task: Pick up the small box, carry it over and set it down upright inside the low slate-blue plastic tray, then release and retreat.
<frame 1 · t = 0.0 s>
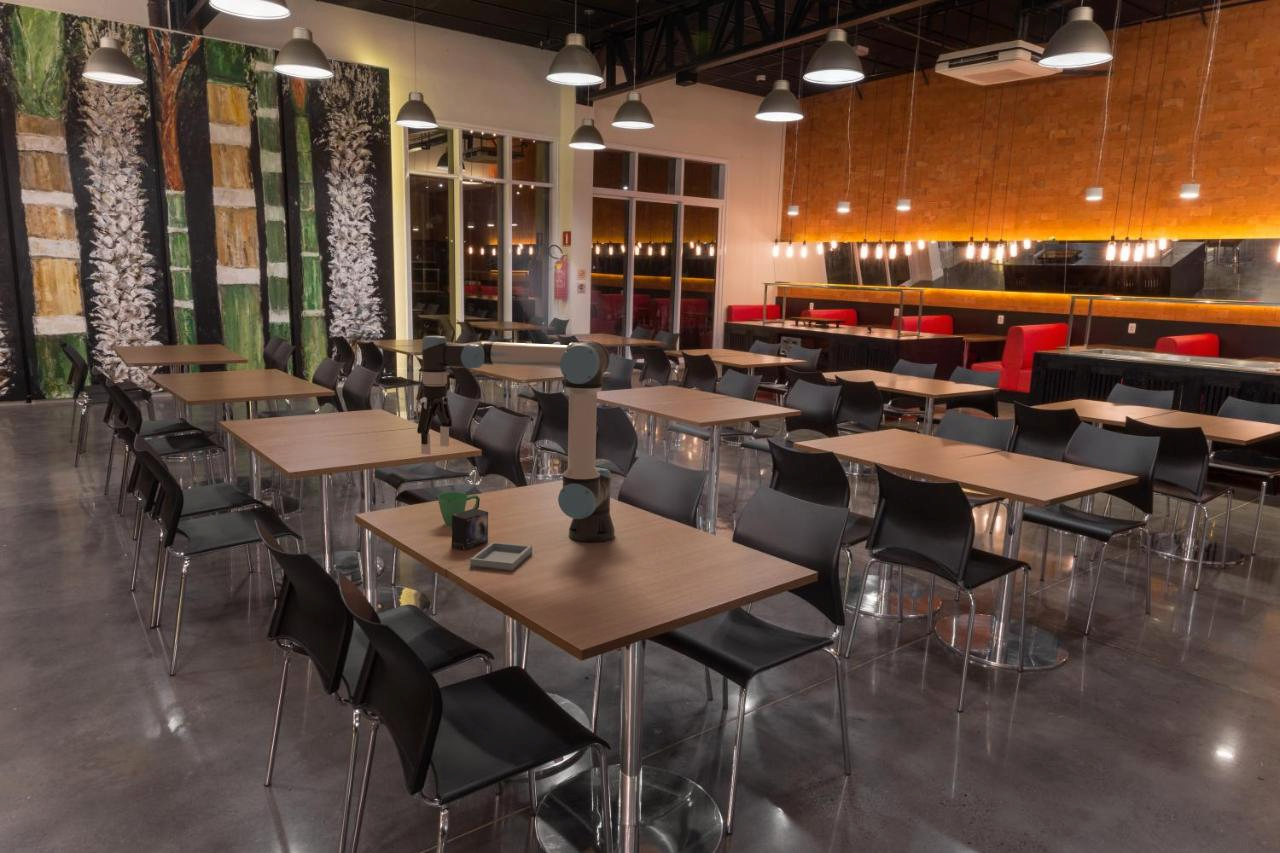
hand: (435, 450, 272), 28 cm above the table, fingers open, 13 cm apart
tray: (502, 560, 253), on the table
mug: (459, 523, 289), on the table
small box: (470, 545, 266), on the table
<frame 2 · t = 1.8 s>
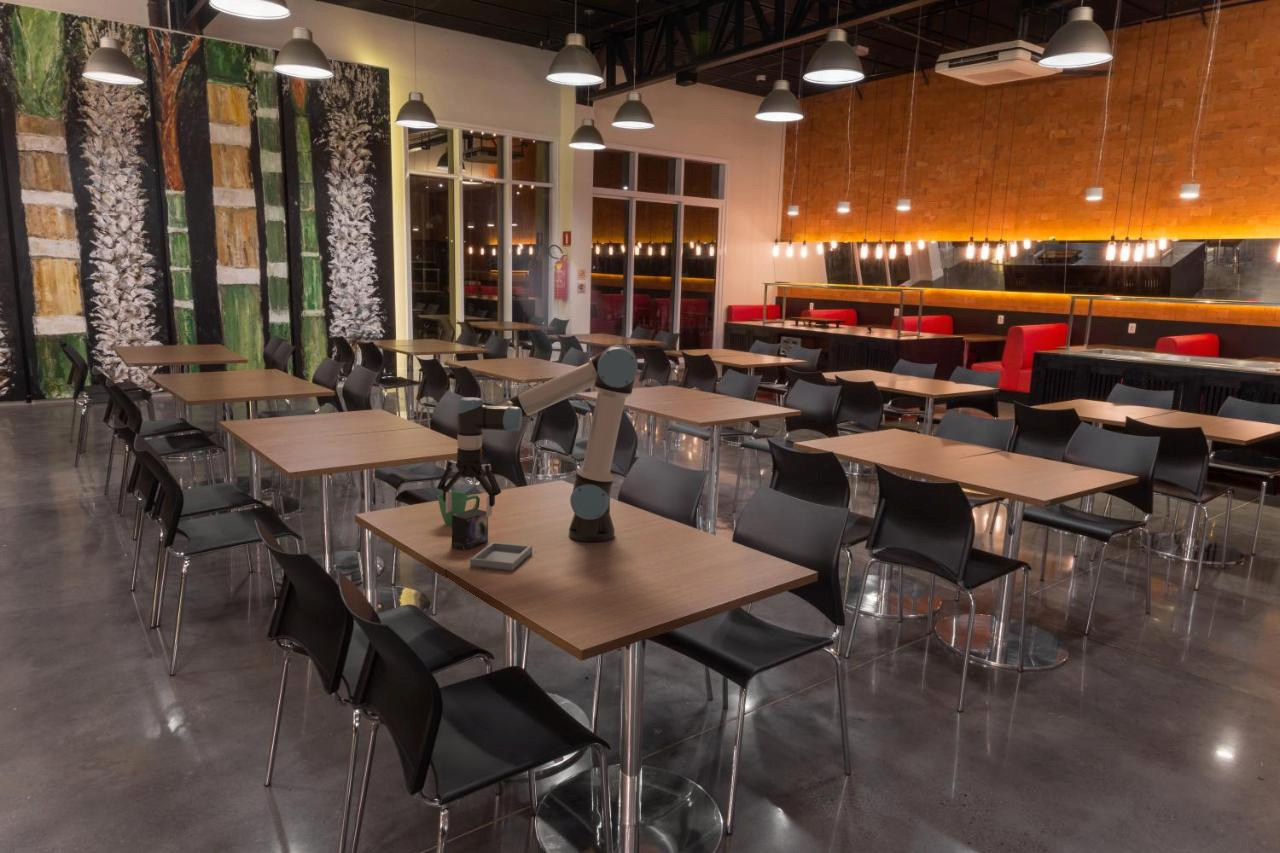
hand: (468, 513, 265), 10 cm above the table, fingers open, 13 cm apart
nothing on the table moved.
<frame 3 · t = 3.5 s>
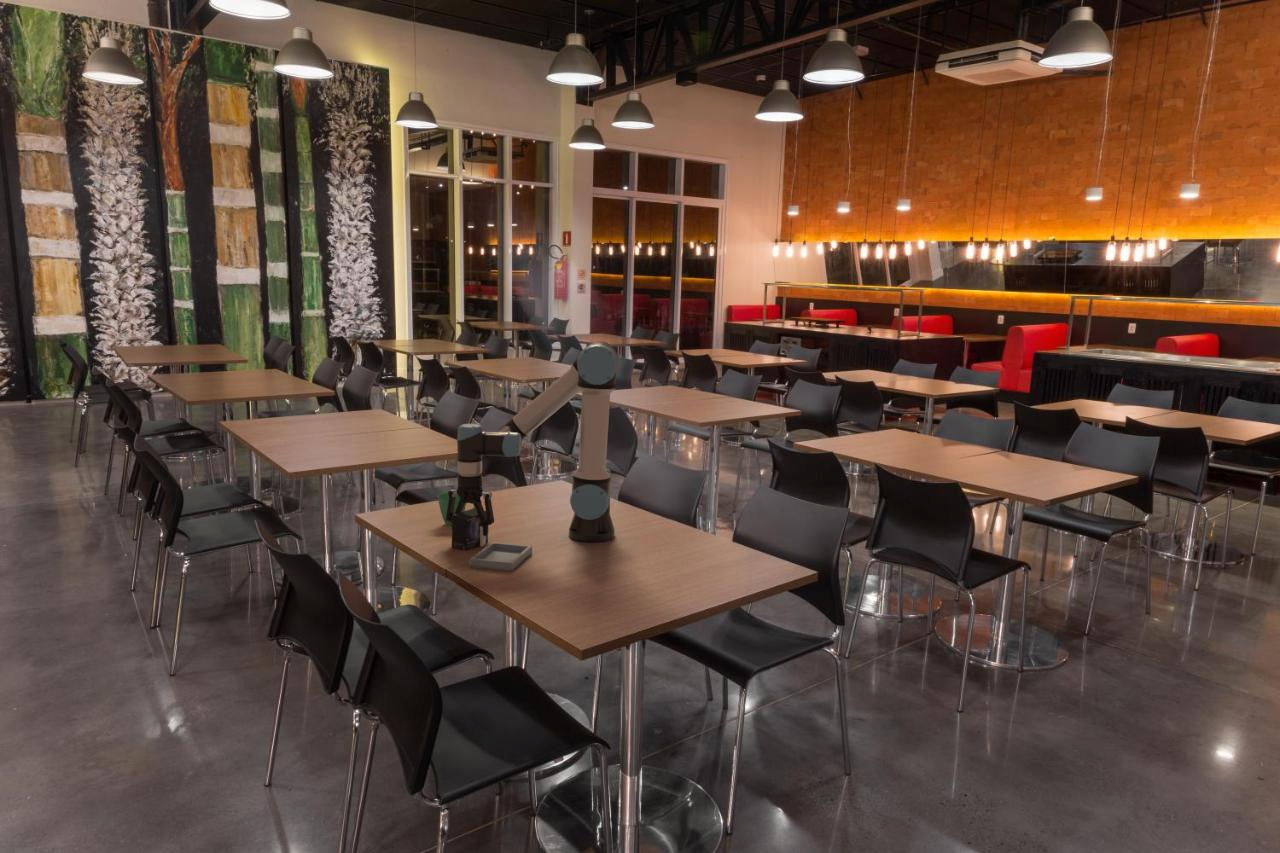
hand: (470, 543, 266), 0 cm above the table, fingers closed on small box, 8 cm apart
small box: (470, 545, 266), on the table, touching gripper
everything else where it was.
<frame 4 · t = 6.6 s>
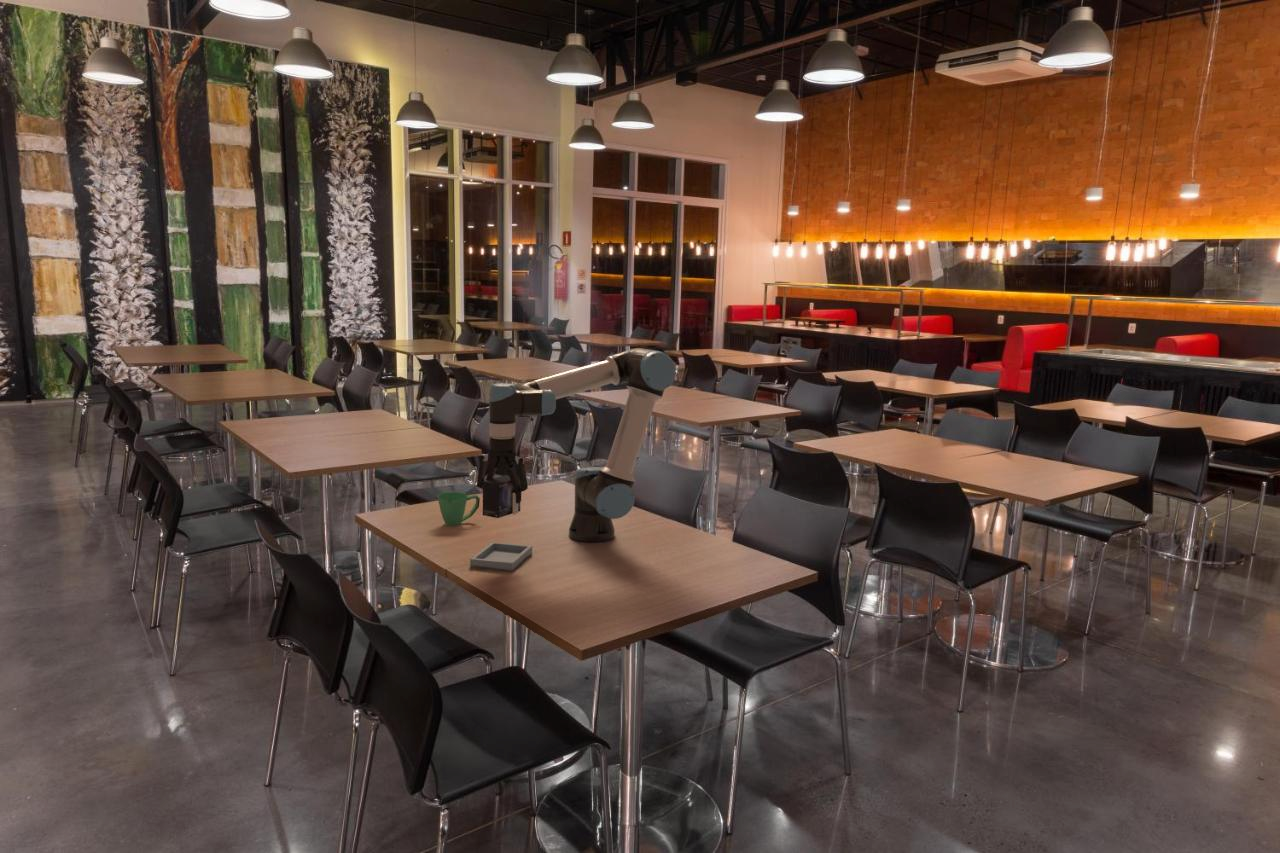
hand: (502, 512, 250), 15 cm above the table, fingers closed on small box, 8 cm apart
small box: (502, 514, 250), point 14 cm above the table, touching gripper
everything else where it was.
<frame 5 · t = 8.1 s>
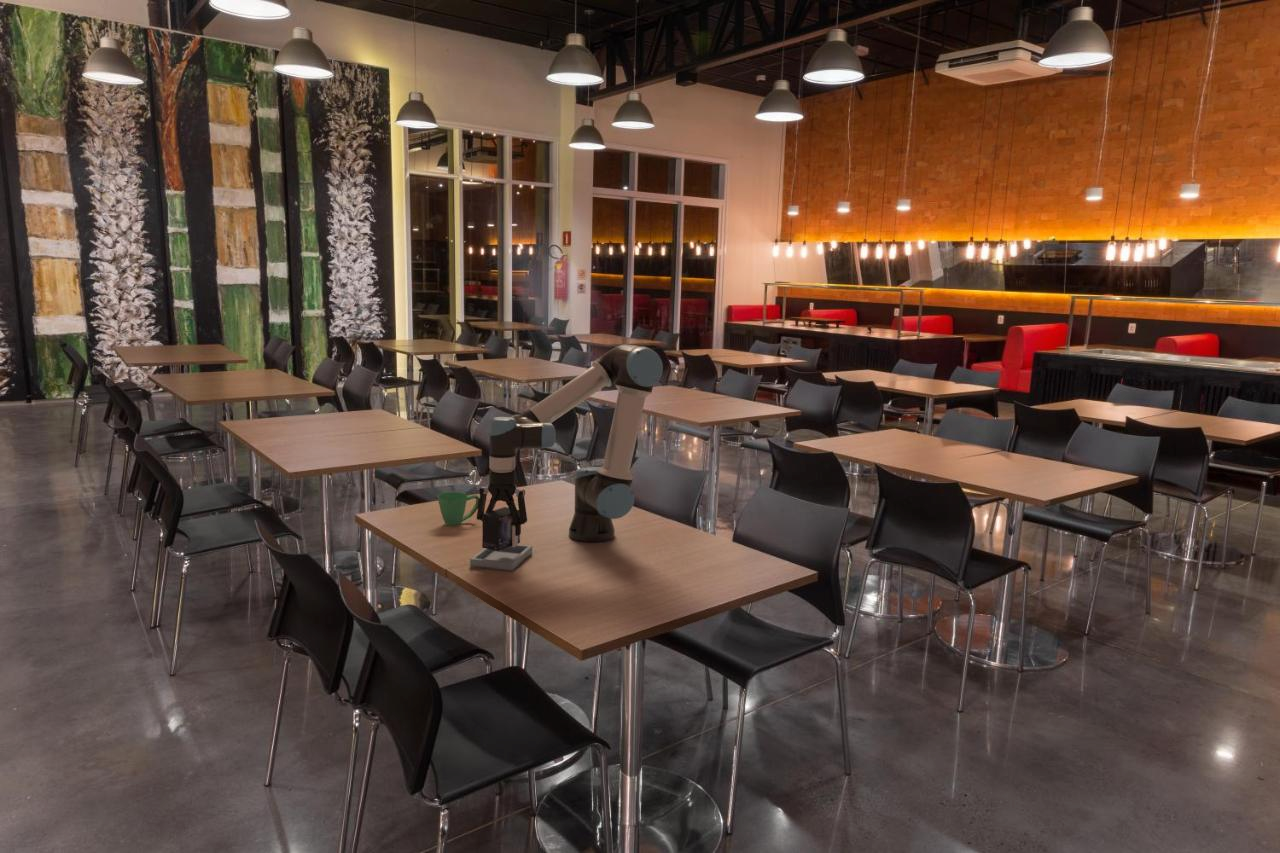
hand: (501, 544, 252), 5 cm above the table, fingers closed on small box, 8 cm apart
small box: (501, 546, 252), point 4 cm above the table, touching gripper
everything else where it was.
when the fingers open (2 cm above the table, at t = 9.5 s): small box drops 1 cm, resting on tray.
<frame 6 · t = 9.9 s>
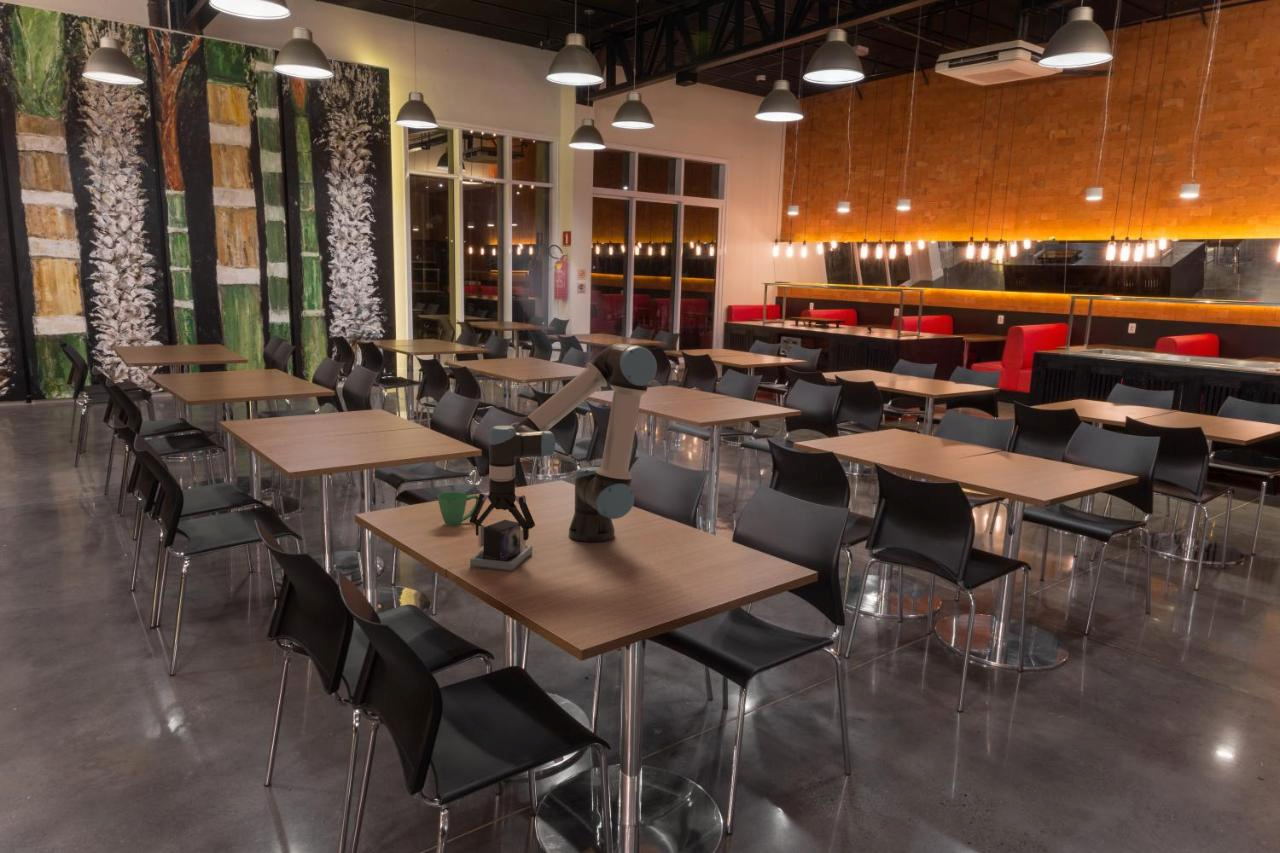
hand: (502, 548, 252), 4 cm above the table, fingers open, 12 cm apart
small box: (502, 559, 253), resting on tray
everything else where it was.
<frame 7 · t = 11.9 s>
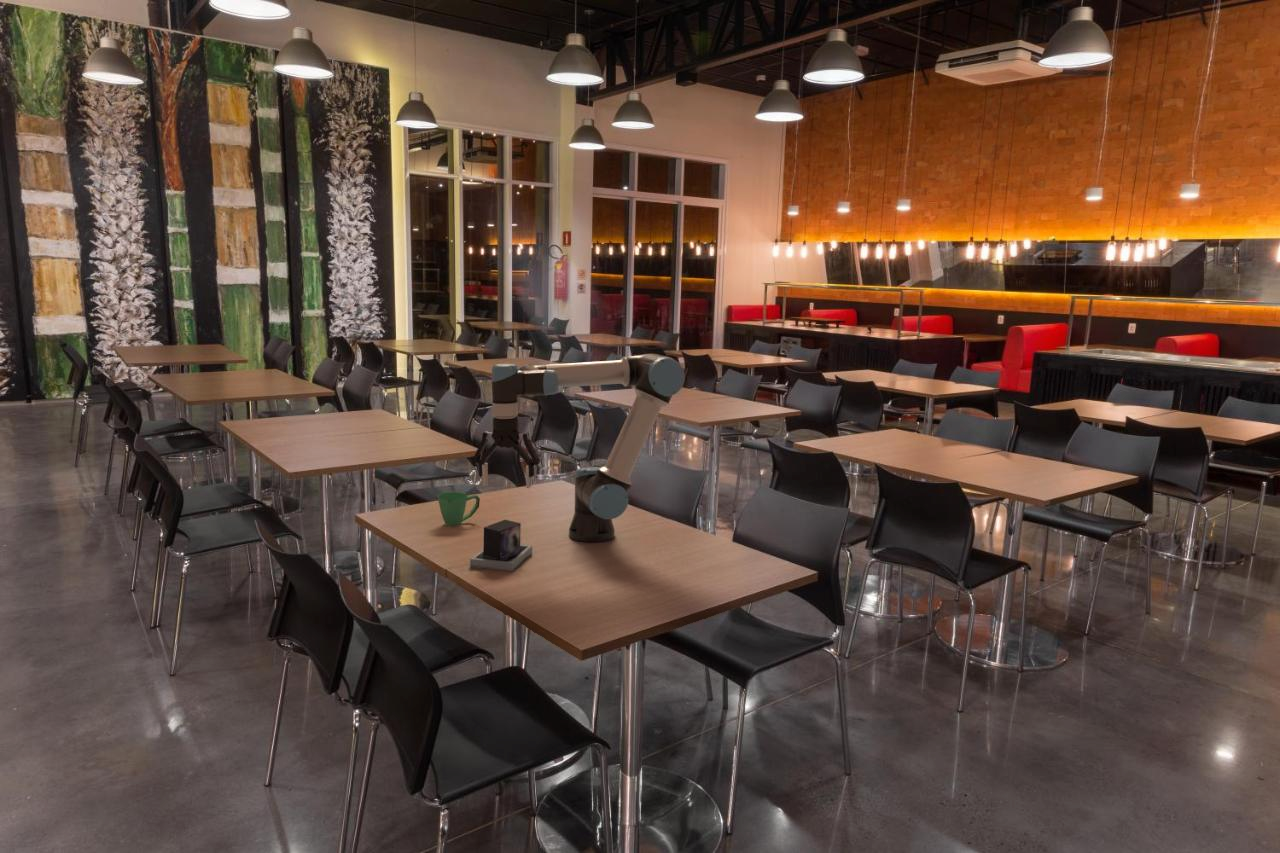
hand: (506, 486, 253), 22 cm above the table, fingers open, 13 cm apart
nothing on the table moved.
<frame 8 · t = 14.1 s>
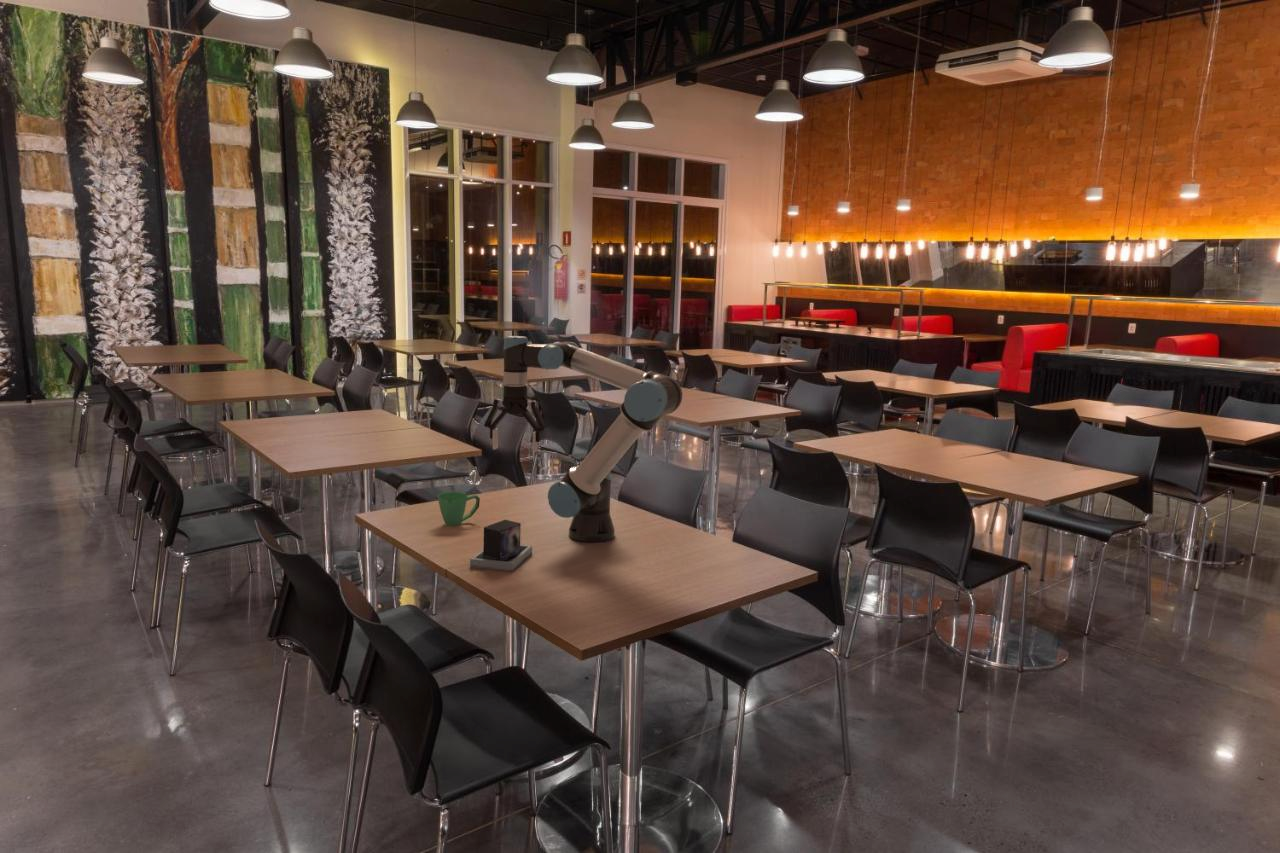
hand: (515, 450, 272), 29 cm above the table, fingers open, 13 cm apart
nothing on the table moved.
at the end: small box inside the target area on the tray (0.1 cm from its centre), point 0.4 cm above the tray's base; small box tilted 0°; the gripper is holding nothing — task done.
